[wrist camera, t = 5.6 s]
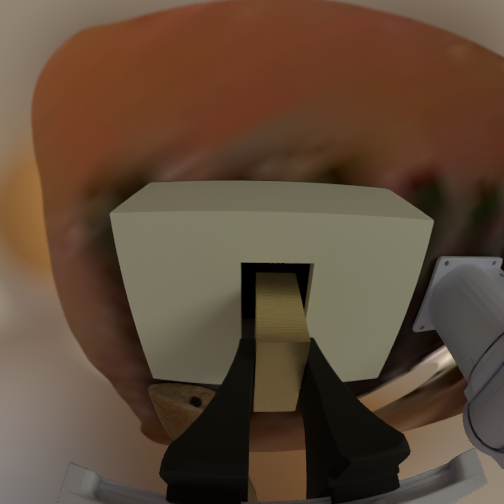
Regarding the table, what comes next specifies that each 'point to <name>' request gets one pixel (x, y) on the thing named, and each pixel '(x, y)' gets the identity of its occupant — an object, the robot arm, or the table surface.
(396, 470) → the robot arm
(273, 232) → the box
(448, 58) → the table surface
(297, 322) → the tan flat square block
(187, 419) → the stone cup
